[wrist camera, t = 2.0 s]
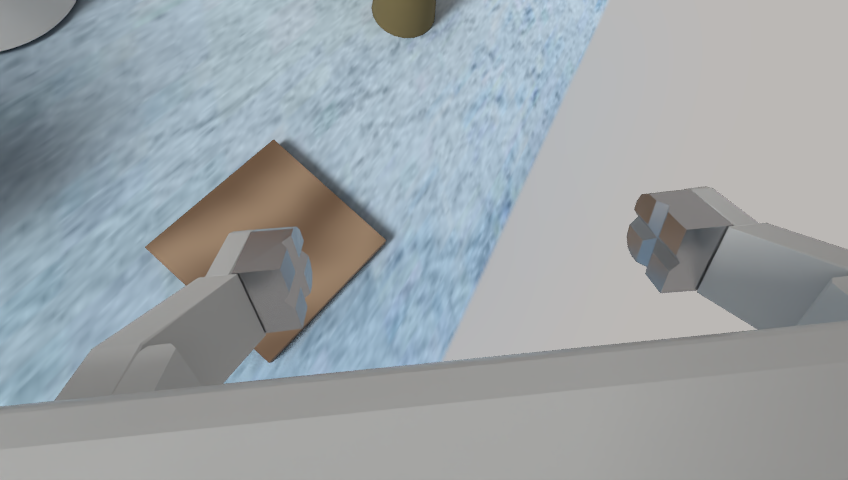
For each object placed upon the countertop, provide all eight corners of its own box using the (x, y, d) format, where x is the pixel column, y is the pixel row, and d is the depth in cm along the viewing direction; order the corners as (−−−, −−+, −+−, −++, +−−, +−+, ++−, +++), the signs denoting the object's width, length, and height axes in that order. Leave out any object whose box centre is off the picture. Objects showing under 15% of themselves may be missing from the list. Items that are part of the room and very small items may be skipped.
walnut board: (151, 250, 29) (144, 247, 28) (276, 145, 32) (273, 139, 32) (272, 362, 28) (269, 362, 28) (385, 243, 32) (386, 240, 31)
